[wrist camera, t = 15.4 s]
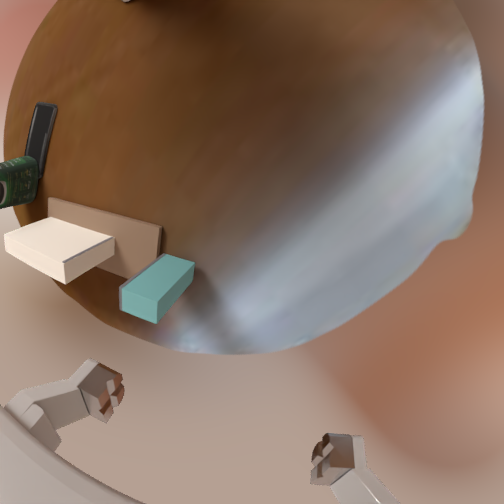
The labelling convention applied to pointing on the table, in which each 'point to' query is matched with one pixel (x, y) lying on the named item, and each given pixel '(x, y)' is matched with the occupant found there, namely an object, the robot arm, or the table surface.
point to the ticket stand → (84, 242)
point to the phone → (40, 133)
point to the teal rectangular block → (156, 287)
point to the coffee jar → (18, 181)
